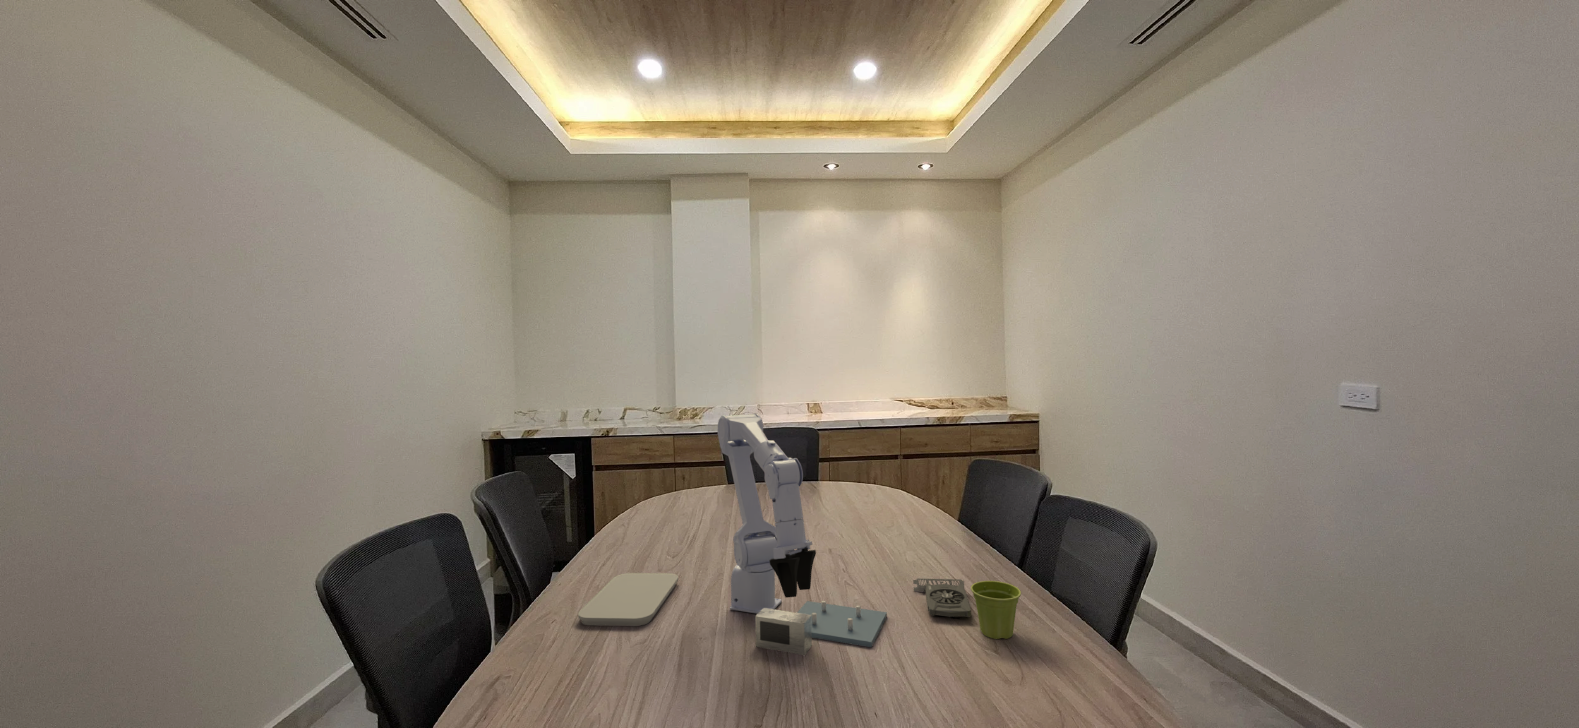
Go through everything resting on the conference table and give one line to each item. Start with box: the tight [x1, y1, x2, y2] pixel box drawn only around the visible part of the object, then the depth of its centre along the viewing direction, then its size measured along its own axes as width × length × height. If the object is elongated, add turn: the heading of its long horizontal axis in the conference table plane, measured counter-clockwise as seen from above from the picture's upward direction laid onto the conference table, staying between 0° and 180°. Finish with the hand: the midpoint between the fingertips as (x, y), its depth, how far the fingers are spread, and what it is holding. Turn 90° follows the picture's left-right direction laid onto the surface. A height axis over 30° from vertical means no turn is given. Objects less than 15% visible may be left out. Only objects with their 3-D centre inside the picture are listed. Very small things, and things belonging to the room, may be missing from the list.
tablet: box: [577, 572, 679, 627], centre depth 134 cm, size 16×26×2 cm, turn 176°
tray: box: [796, 600, 888, 648], centre depth 120 cm, size 18×14×3 cm
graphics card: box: [912, 577, 972, 620], centre depth 129 cm, size 17×4×12 cm
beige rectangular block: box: [754, 608, 813, 656], centre depth 111 cm, size 10×4×6 cm, turn 69°
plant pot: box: [970, 580, 1022, 640], centre depth 115 cm, size 9×9×9 cm
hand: (798, 593), depth 111 cm, fingers open, 7 cm apart
